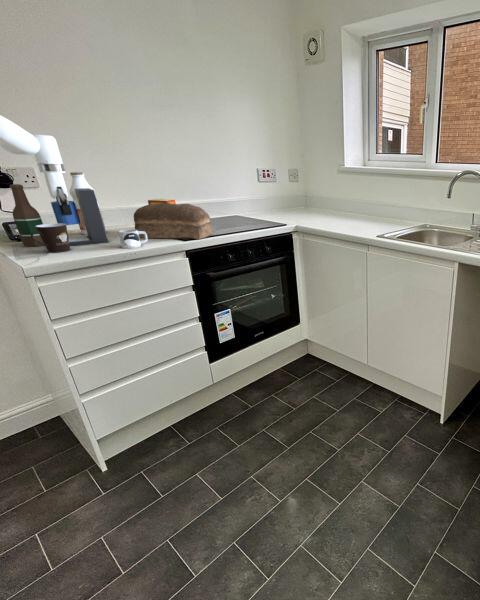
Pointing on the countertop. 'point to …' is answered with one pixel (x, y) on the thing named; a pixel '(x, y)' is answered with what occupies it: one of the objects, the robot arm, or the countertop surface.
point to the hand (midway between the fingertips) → (66, 213)
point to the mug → (131, 238)
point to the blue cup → (66, 218)
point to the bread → (172, 221)
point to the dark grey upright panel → (89, 219)
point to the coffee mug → (53, 237)
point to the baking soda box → (161, 201)
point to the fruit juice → (77, 183)
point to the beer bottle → (25, 217)
